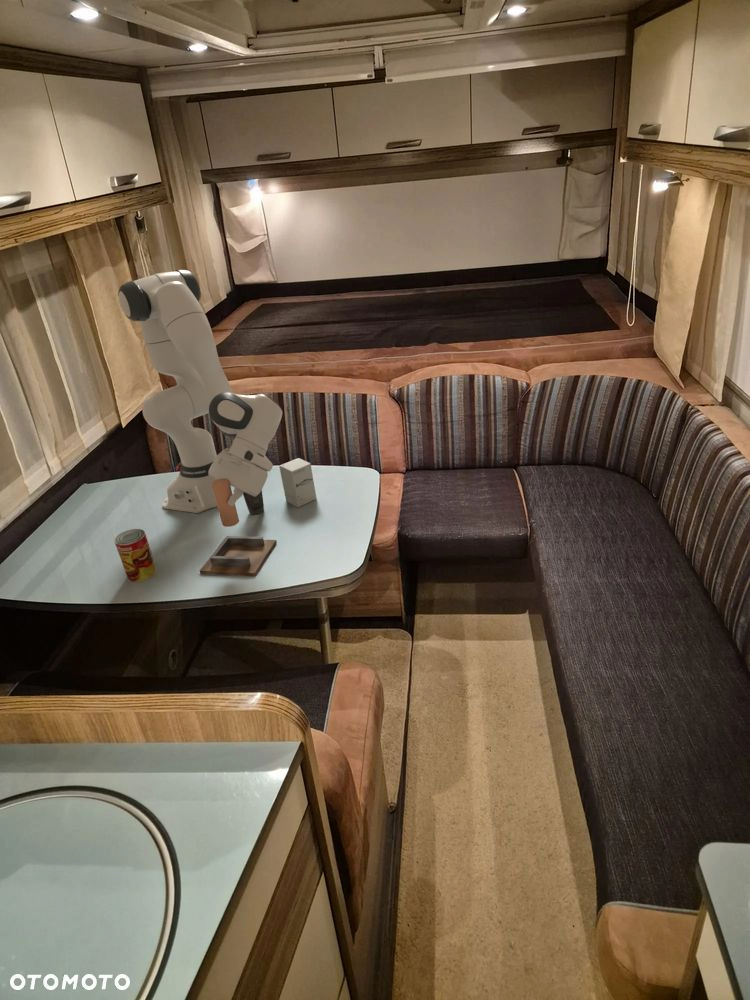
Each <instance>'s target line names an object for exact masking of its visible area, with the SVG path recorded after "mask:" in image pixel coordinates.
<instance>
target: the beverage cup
mask: <svg viewBox="0 0 750 1000" xmlns="http://www.w3.org/2000/svg"><path fill="white" fill-rule="evenodd" d="M242 496H243V498H244V502H245V504H246V506H247V510H248V512H249V515H250V516H254V517H258V516H260V515H263V514H264V512H265V505H264V497H263V496H264V495H263V490H261V492H260V493H259V494H258V495H257V496H256V497H254V496H252V495H250V494H247V493H245V492H244V493H243V495H242Z"/></svg>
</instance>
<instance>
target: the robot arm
mask: <svg viewBox="0 0 750 1000" xmlns="http://www.w3.org/2000/svg"><path fill="white" fill-rule="evenodd" d="M201 295H202V294H201V287H200V285H199V282H198V279H197V278H196V276H195V275H194V274H193V273H192V272H191V271H189V270H187V269H175V270H174V271H165V272H158V273H153V274H152V275H148V276H144V277H142V278H138V279H136V280H129V281H127V282H125V283H123V284H121V285H120V287H119V290H118V292H117V296H118V303H119V306H120V308H121V311H122V312H123V314H124V315H125V316H126V318H127V319H129V320H131V321H133V322H139V324H140V329H141V334H142V337H143V342H144V344H145V347H146V350H147V353H148V357H149V360H150V363H151V365H152V368H153V369H154V370H155V371H156V372H158V374H159V373H160V374H162V375H165V376H171V377H172V378H174V381H175V383H176V385H174V386H171V387H168V388H165V389H163V390H160V391H157V392H155V393H153V394H152V395H150V396H148V397H147V398H145V399H144V401H143V404H142V416H143V419H144V420H145V421H146V422H147V424H148V425H149V426H151V427H152V428H154V429H156V430H158V431H161V432H164V433H166V435H168V437H170V438H171V439H172V442H173V443H174V444H175V447H176V449H177V452H178V454H179V458H180V462H179V463H178V465H177V466H176V467H175V469H176V470H175V471H176V472H177V471H179V473H178V474H177V475H176V477H174V478H173V479H172V480H171V482H170V483H169V484H168V486H167V490H166V493H167V494H166V495H167V496H166V497H165V499H164V500H163V501H162V508H163V509H165V510H172V511H179V512H186V513H187V512H188V513H195V514H199V513H202V512H204V511H206V510H209V509H212V508H215V507H217V503H216V499H215V495H214V492H213V488H212V482H214V481H215V480H218V479H228V480H229V484H230V486H231V487H233V488H234V489H233V491H232V496H231V497H228V498H227V500H226V503H227V504H228V505H231V506H234V504H235V505H236V502H237V501H238V500H239V499H240V498H242V496H243V493H244V492H245V493H247V494H250V495H252V496H254V497H256V496H257V495H258V494H259V493H260V492H261V490H262V489H263V488H264V486H265V484H266V482H267V479H268V475H269V472H271V471H272V469H273V466H274V465H273V463H272V462H271V460H270V459H269V458H268V456H266V454H267V451H268V449H269V448H268V447H269V444H270V442H271V440H273V438H274V436H275V435H276V433H277V430H278V428H279V425H280V423H281V420H282V417H283V410H282V408H281V405H280V404H279V403H278V402H277V401H276V400H275V399H273V398H272V397H270V396H268V395H267V394H264V393H258V394H250V395H249V394H239V393H235V392H234V391H233V390H234V389H232V388H233V387H232V386H231V384H230V381H229V380H228V378H227V376H226V373H225V372H224V369H223V367H222V365H221V361H220V359H219V355H218V351H217V350H218V349H217V346H216V341H215V338H214V334H213V331H212V328H211V325H210V322H209V320H208V317H207V315H206V313H205V311H204V309H203V308H202V306H201V304H200V300H201V298H202V296H201ZM206 414H209V418H210V419H211V421H212V423H214V424H215V426H216V427H217V428H218V430H219V431H220V433H222V434H223V435H224V436H226V437H228V438H229V437H230V438H233V439H234V440H233V442H232V443H231V446H230V447H225V448H223V449H222V451H221V452H219V453H218V454H217V452H216V448H215V443H214V440H213V436H212V435H211V433H210V432H209V431H208V430H206V429H205V428H204V429H203V428H201V427H193V425H192V420H193V419H196V418H199V417H202V416H204V415H206ZM262 491H263V490H262Z"/></svg>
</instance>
